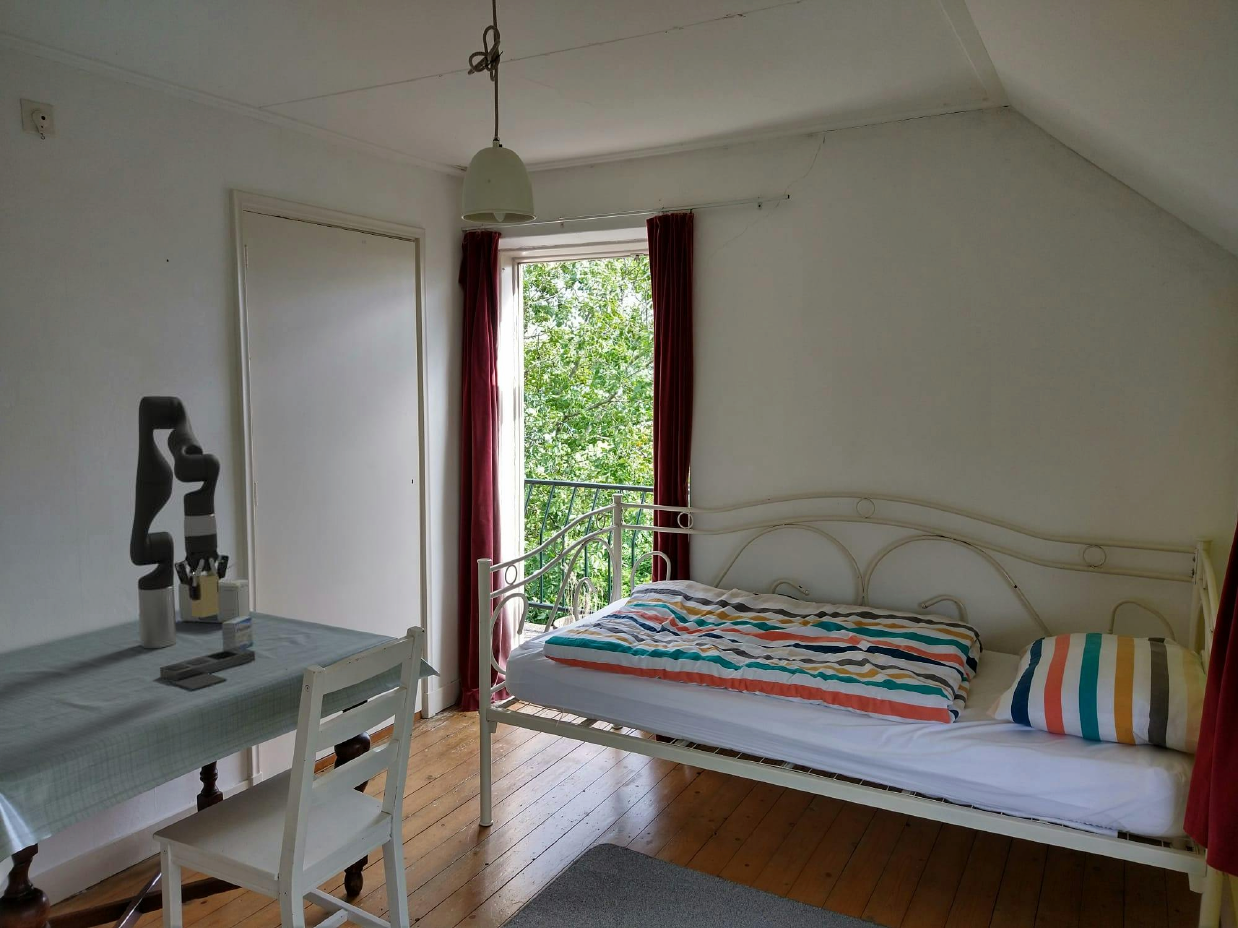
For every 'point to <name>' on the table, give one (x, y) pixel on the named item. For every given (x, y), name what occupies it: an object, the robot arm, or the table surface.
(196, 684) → the rubber mat
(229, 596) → the stereo radio cassette player
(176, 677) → the rail
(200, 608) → the brass block
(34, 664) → the table surface
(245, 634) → the medicine box
